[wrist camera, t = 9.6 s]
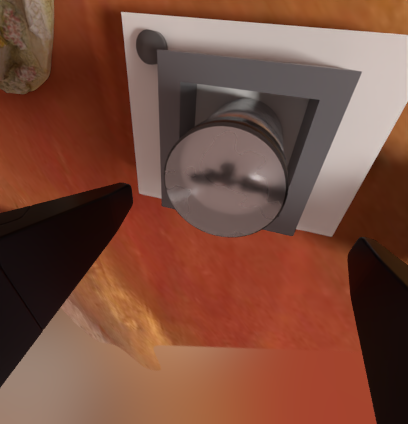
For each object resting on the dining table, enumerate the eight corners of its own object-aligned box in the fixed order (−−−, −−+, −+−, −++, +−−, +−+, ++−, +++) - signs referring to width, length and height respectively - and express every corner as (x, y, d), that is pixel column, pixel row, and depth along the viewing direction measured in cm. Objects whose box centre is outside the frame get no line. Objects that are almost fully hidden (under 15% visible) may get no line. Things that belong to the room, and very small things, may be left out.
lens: (295, 102, 13) (309, 137, 7) (272, 182, 16) (268, 249, 10) (208, 90, 14) (161, 113, 8) (201, 168, 17) (163, 224, 11)
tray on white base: (403, 42, 13) (493, 32, 8) (323, 208, 20) (340, 266, 15) (152, 20, 16) (85, 1, 10) (158, 174, 23) (120, 212, 17)
